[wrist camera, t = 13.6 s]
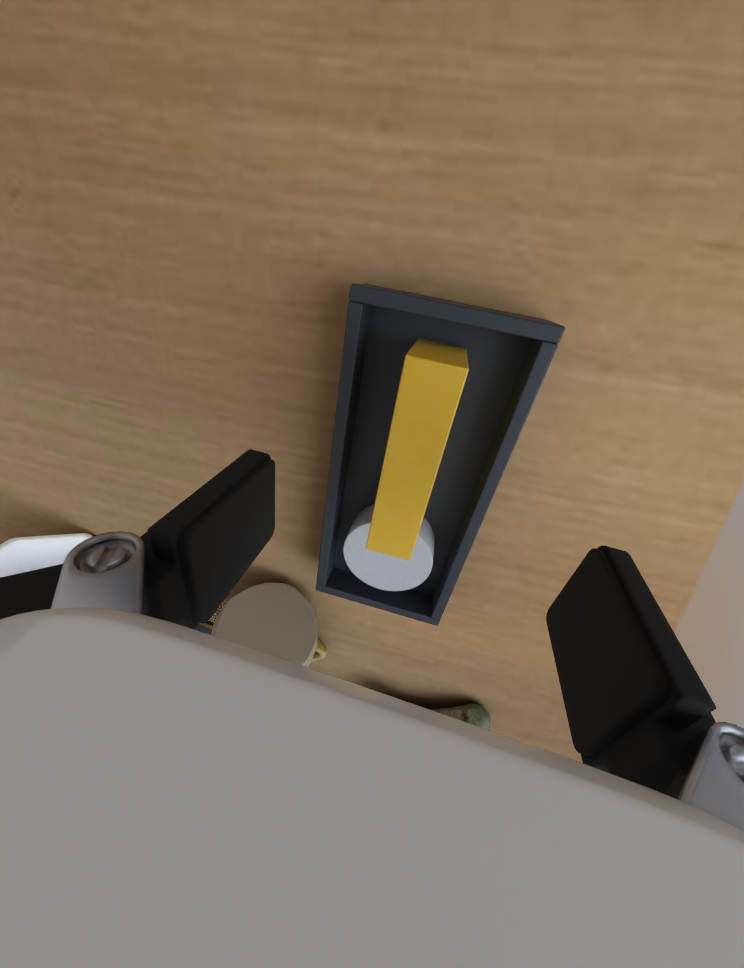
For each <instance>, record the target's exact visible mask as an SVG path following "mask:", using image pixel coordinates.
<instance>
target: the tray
mask: <svg viewBox="0 0 744 968" xmlns="http://www.w3.org/2000/svg"><path fill="white" fill-rule="evenodd" d="M349 300H350V301H349V304H348V313H347V322H346V330H345V339H344V348H343V356H342V365H341V374H340V383H339V391H338V400H337V409H336V417H335V426H334V435H333V444H332V452H331V461H330V470H329V478H328V487H327V496H326V505H325V513H324V522H323V531H322V540H321V548H320V557H319V566H318V574H317V584H316V590H318V591H321V592H325V593H328V594H332V595H335V596H338V597H342V598H345V599H348V600H352V601H355V602H359V603H362V604H365V605H369V606H372V607H375V608H379V609H382V610H386V611H389V612H392V613H396V614H399V615H402V616H406V617H409V618H413V619H416V620H419V621H423V622H426V623H429V624H433V625H436V626H438V624H439V621H440V619H441V616H442V614H443V612H444V609H445V607H446V605H447V602H448V600H449V598H450V595H451V593H452V591H453V588H454V586H455V584H456V581H457V579H458V577H459V574H460V572H461V570H462V567H463V565H464V563H465V560H466V558H467V556H468V553H469V551H470V549H471V547H472V544H473V542H474V540H475V537H476V535H477V533H478V530H479V528H480V526H481V523H482V521H483V519H484V516H485V514H486V512H487V509H488V507H489V505H490V502H491V500H492V498H493V495H494V493H495V491H496V488H497V486H498V484H499V481H500V479H501V477H502V474H503V472H504V470H505V467H506V465H507V463H508V460H509V458H510V456H511V453H512V451H513V449H514V446H515V444H516V442H517V439H518V437H519V435H520V432H521V430H522V428H523V425H524V423H525V421H526V418H527V416H528V414H529V411H530V409H531V407H532V404H533V402H534V400H535V397H536V395H537V393H538V390H539V388H540V386H541V383H542V381H543V379H544V376H545V374H546V372H547V369H548V367H549V365H550V362H551V360H552V358H553V355H554V353H555V351H556V348H557V343H559V341H560V339H561V337H562V334H563V332H564V330H565V327H564V326H561V325H559V324H556V323H554V322H552V321H548V320H543V319H538V318H533V317H528V316H523V315H518V314H513V313H508V312H503V311H498V310H493V309H488V308H483V307H478V306H473V305H468V304H463V303H458V302H454V301H449V300H444V299H439V298H434V297H429V296H424V295H419V294H414V293H409V292H404V291H399V290H394V289H389V288H384V287H379V286H374V285H369V284H351V287H350V296H349ZM418 338H422V339H427V340H431V341H436V342H441V343H445V344H450V345H455V346H460V347H464V348H466V350H467V359H468V368H469V371H468V374H467V378H466V381H465V384H464V387H463V391H462V394H461V397H460V400H459V404H458V407H457V410H456V413H455V417H454V420H453V423H452V426H451V430H450V433H449V436H448V439H447V443H446V446H445V449H444V452H443V456H442V459H441V462H440V465H439V469H438V472H437V475H436V478H435V482H434V485H433V488H432V491H431V495H430V498H429V501H428V504H427V508H426V511H425V514H424V518H425V519H426V520H427V521H428V522H429V524H430V526H431V527H432V530H433V533H434V537H435V544H434V555H433V566H432V570H431V572H430V574H429V576H428V577H427V579H426V580H425V581H424V582H422V583H421V584H420V585H418V586H416V587H414V588H412V589H408V590H404V591H387V590H382V589H378V588H375V587H372V586H370V585H368V584H366V583H365V582H363V581H362V580H360V579H359V578H358V577H356V576H355V575H354V574H353V572H352V571H351V570H350V569H349V567H348V565H347V563H346V561H345V558H344V552H343V548H344V543H345V540H346V538H347V535H348V533H349V531H350V529H351V526H352V524H353V522H354V520H355V518H356V516H357V515H358V514H359V513H360V512H361V511H362V510H363V509H365V508H367V507H368V506H371V505H373V504H375V500H376V495H377V490H378V485H379V480H380V476H381V471H382V466H383V461H384V456H385V451H386V447H387V442H388V437H389V432H390V427H391V422H392V417H393V413H394V408H395V403H396V398H397V393H398V388H399V384H400V379H401V374H402V369H403V364H404V359H405V356H406V354H407V353H408V352H409V350H410V349H411V348H412V346H413V345H414V344H415V342H416V341H417V340H418Z"/></svg>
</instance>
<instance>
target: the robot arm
mask: <svg viewBox="0 0 744 968" xmlns="http://www.w3.org/2000/svg"><path fill="white" fill-rule="evenodd" d="M274 529H275V462H274V461H273V460H271V458H270V455H269V454H267V453H263V452H259V451H256V450H251V449H250V450H248V451H246V452H245V453H244V454H243V455H241V456H240V457H239V458H238V459H236V460H235V461H234V462H232V463H231V464H230V465H229V466H227V467H226V468H225V469H224V470H222V471H221V472H220V473H218V474H217V475H216V476H215V477H213V478H212V479H211V480H210V481H208V482H207V483H206V484H205V485H203V486H202V487H201V488H199V489H198V490H197V491H196V492H194V493H193V494H192V495H191V496H189V497H188V498H187V499H185V500H184V501H183V502H182V503H180V504H179V505H178V506H177V507H175V508H174V509H173V510H171V511H170V512H169V513H168V514H166V515H165V516H164V517H163V518H161V519H160V520H159V521H157V522H156V523H155V524H154V525H152V526H151V527H150V528H149V529H148V531H147V532H146V533H145V534H144V535H142V536H141V537H139V536H138V535H135V534H133V533H130V532H122V531H117V532H108V533H103V534H99V535H96V536H93V537H91V538H88V539H86V540H84V541H83V542H81V543H79V544H78V545H76V546H75V547H74V548H73V549H72V550H71V551H70V552H69V553H68V555H67V556H66V558H65V560H64V563H63V564H59V565H55V566H50V567H46V568H41V569H37V570H32V571H28V572H23V573H19V574H14V575H10V576H5V577H1V578H0V968H744V729H743V728H741V727H739V726H737V725H735V724H731V723H726V722H718V723H716V722H715V720H714V718H713V716H712V715H711V713H710V712H711V711H713V710H714V709H716V706H715V704H714V703H713V701H712V699H711V697H710V695H709V694H708V692H707V690H706V688H705V687H704V685H703V683H702V681H701V680H700V678H699V676H698V674H697V673H696V671H695V669H694V668H693V666H692V664H691V662H690V660H689V659H688V657H687V655H686V653H685V651H684V650H683V648H682V646H681V644H680V643H679V641H678V639H677V637H676V636H675V634H674V632H673V630H672V629H671V627H670V625H669V623H668V622H667V620H666V618H665V616H664V614H663V613H662V611H661V609H660V607H659V606H658V604H657V602H656V600H655V599H654V597H653V595H652V593H651V592H650V590H649V588H648V586H647V585H646V583H645V581H644V579H643V577H642V576H641V574H640V572H639V570H638V569H637V567H636V565H635V563H634V562H633V560H632V558H631V556H630V555H629V554H628V552H625V551H622V550H618V549H615V548H611V547H607V546H600V547H598V548H597V549H591V550H590V551H589V552H588V554H587V555H586V557H585V558H584V560H583V561H582V562H581V564H580V565H579V567H578V568H577V569H576V571H575V572H574V574H573V575H572V577H571V578H570V579H569V581H568V582H567V584H566V585H565V587H564V588H563V589H562V591H561V592H560V594H559V595H558V596H557V598H556V599H555V601H554V602H553V604H552V605H551V606H550V608H549V610H548V612H547V617H546V620H547V626H548V630H549V635H550V640H551V644H552V649H553V653H554V658H555V662H556V667H557V672H558V676H559V681H560V685H561V690H562V694H563V699H564V704H565V708H566V713H567V717H568V722H569V727H570V731H571V736H572V740H573V744H574V747H575V749H576V751H577V752H578V753H581V756H582V761H583V763H580V762H577V761H574V760H572V759H569V758H566V757H563V756H560V755H557V754H555V753H552V752H549V751H546V750H543V749H540V748H538V747H535V746H532V745H529V744H526V743H523V742H520V741H518V740H515V739H512V738H509V737H506V736H503V735H501V734H498V733H495V732H492V731H489V730H486V729H484V728H481V727H478V726H475V725H472V724H469V723H466V722H464V721H461V720H458V719H455V718H452V717H449V716H446V715H444V714H441V713H438V712H435V711H432V710H429V709H426V708H423V707H420V706H418V705H415V704H412V703H409V702H406V701H403V700H400V699H397V698H395V697H392V696H389V695H386V694H383V693H380V692H377V691H374V690H371V689H368V688H366V687H363V686H360V685H357V684H354V683H351V682H348V681H345V680H342V679H340V678H337V677H334V676H331V675H328V674H325V673H322V672H319V671H316V670H313V669H310V668H307V667H304V666H301V665H299V664H296V663H293V662H290V661H287V660H284V659H281V658H278V657H275V656H272V655H269V654H266V653H263V652H260V651H257V650H254V649H252V648H249V647H246V646H243V645H240V644H237V643H234V642H231V641H228V640H225V639H222V638H219V637H215V636H212V635H209V634H206V633H203V632H200V631H197V630H195V629H196V627H197V626H198V625H199V624H200V623H206V622H207V621H208V620H209V619H210V617H211V616H212V615H213V613H214V612H215V611H216V609H217V608H218V607H219V606H220V604H221V603H222V602H223V600H224V599H225V598H226V596H227V595H228V594H229V592H230V591H231V590H232V588H233V587H234V586H235V585H236V583H237V582H238V581H239V579H240V578H241V577H242V575H243V574H244V573H245V571H246V570H247V569H248V567H249V566H250V565H251V563H252V562H253V561H254V560H255V558H256V557H257V556H258V554H259V553H260V552H261V550H262V549H263V548H264V546H265V545H266V544H267V542H268V541H269V540H270V538H271V537H272V535H273V532H274Z"/></svg>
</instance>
